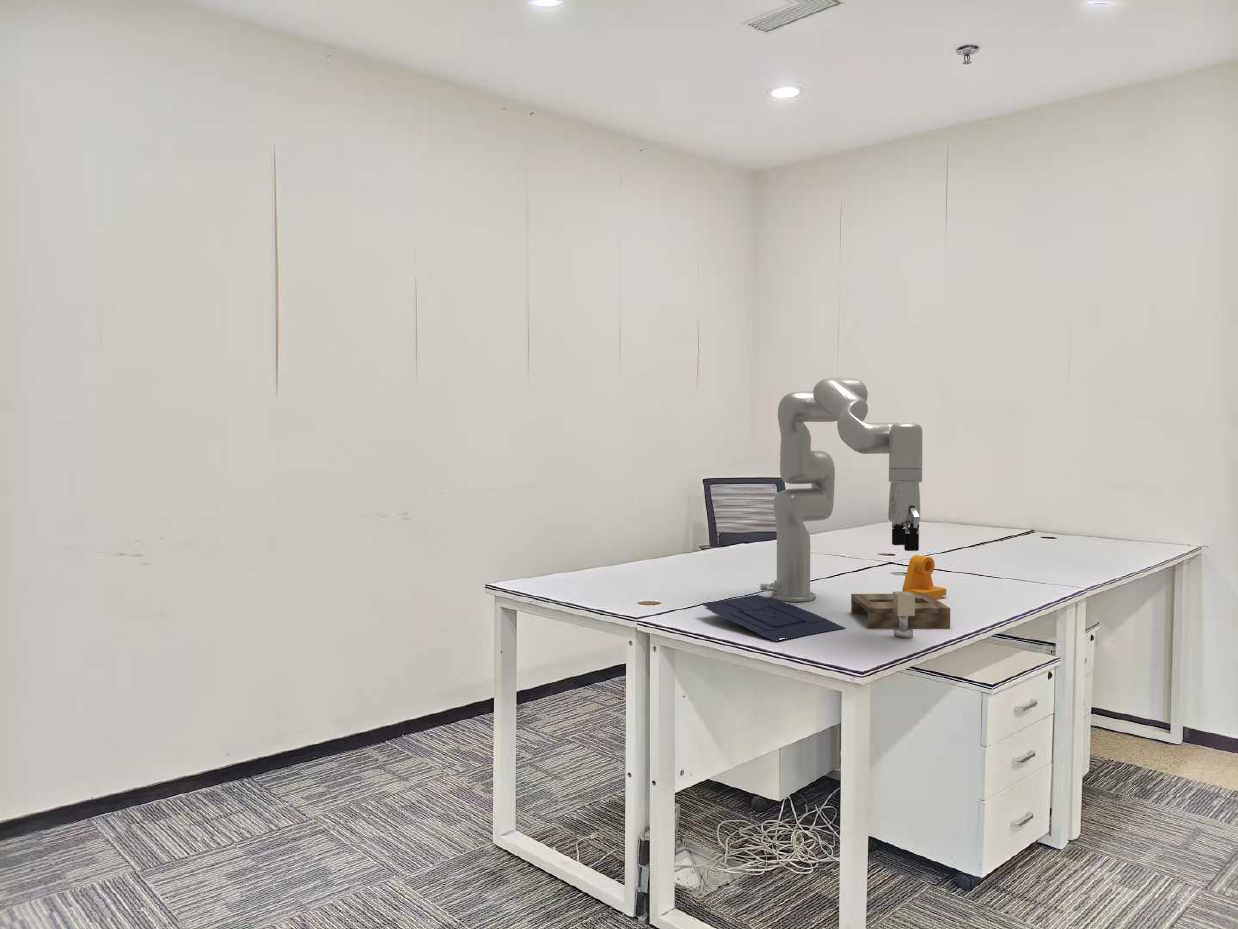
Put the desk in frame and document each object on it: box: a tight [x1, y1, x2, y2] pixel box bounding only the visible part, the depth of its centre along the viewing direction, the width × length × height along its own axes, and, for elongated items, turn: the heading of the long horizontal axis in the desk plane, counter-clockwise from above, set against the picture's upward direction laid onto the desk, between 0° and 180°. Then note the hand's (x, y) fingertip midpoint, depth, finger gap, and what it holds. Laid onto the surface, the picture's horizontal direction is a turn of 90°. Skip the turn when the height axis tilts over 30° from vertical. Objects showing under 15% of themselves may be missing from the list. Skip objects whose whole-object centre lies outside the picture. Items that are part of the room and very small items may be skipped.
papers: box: [700, 594, 846, 642], centre depth 227 cm, size 24×30×4 cm
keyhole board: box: [850, 593, 951, 629], centre depth 230 cm, size 20×18×5 cm
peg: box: [892, 591, 915, 640], centre depth 213 cm, size 4×4×10 cm
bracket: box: [901, 554, 947, 601], centre depth 258 cm, size 11×7×12 cm, turn 122°
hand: (905, 547), depth 212 cm, fingers open, 9 cm apart
